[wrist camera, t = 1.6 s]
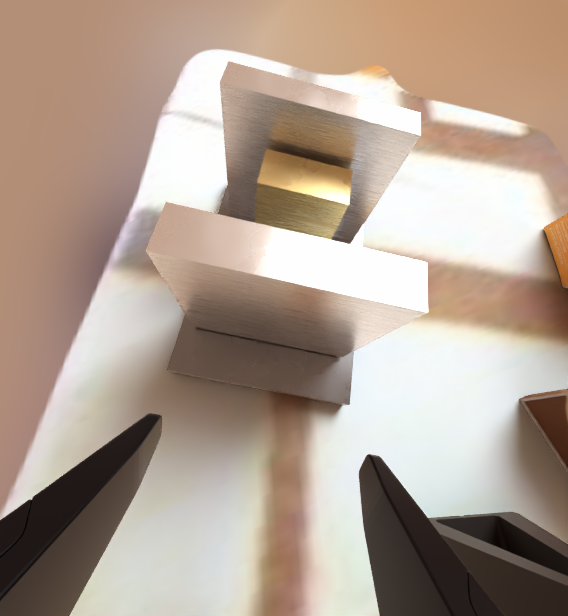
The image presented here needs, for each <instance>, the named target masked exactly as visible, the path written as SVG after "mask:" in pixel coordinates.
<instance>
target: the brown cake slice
mask: <svg viewBox="0 0 568 616" xmlns="http://www.w3.org/2000/svg"><path fill="white" fill-rule="evenodd" d="M519 400H520V401H521V403H522V404H523V406H524V407H525V409H526V411H527V412H528V414H529V415H530V417H531V418H532V420H533V421H534V423H535V424H536V426H537V427H538V429H539V431H540V432H541V434H542V435H543V437H544V438H545V440H546V441H547V443H548V444H549V446H550V447H551V449H552V451H553V452H554V454H555V455H556V457H557V458H558V460H559V461H560V463H561V464H562V466H563V468H564V469H565V471H566V472H567V474H568V389H564V390H558V391H551V392H545V393H539V394H532V395H528V396H525V397H523V398H521V399H519Z"/></svg>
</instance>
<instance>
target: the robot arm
mask: <svg viewBox="0 0 568 616" xmlns="http://www.w3.org/2000/svg"><path fill="white" fill-rule="evenodd" d="M161 427H162V416H161V415H157V414H152V413H150V414H147V415H146V416H145V417H143V418H142V419H140V420H139V421H138V422H136V423H135V424H133V425H132V426H131V427H129V428H128V429H127V430H125V431H124V432H122V433H121V434H120V435H118V436H117V437H115V438H114V439H113V440H111V441H110V442H109V443H107V444H106V445H104V446H103V447H102V448H100V449H99V450H97V451H96V452H95V453H93V454H92V455H91V456H89V457H88V458H86V459H85V460H84V461H82V462H81V463H79V464H78V465H77V466H75V467H74V468H73V469H71V470H70V471H68V472H67V473H66V474H64V475H63V476H61V477H60V478H59V479H57V480H56V481H55V482H53V483H52V484H50V485H49V486H48V487H46V488H45V489H43V490H42V491H41V492H39V493H38V494H37V495H35V496H34V497H33V498H32V500H31V499H30V500H28V501H27V502H25V503H24V504H23V505H21V506H20V507H18V508H17V509H16V510H14V511H13V512H11V513H10V514H9V515H7V516H6V517H4V518H3V519H1V520H0V616H69V615H70V614H71V612H72V610H73V608H74V606H75V604H76V603H77V601H78V599H79V597H80V595H81V593H82V591H83V590H84V588H85V586H86V584H87V582H88V580H89V579H90V577H91V575H92V573H93V571H94V569H95V568H96V566H97V564H98V562H99V560H100V558H101V557H102V555H103V553H104V551H105V549H106V547H107V546H108V544H109V542H110V540H111V538H112V536H113V535H114V533H115V531H116V529H117V527H118V525H119V524H120V522H121V520H122V518H123V516H124V514H125V513H126V511H127V509H128V507H129V505H130V503H131V501H132V500H133V498H134V496H135V494H136V492H137V490H138V488H139V486H140V484H141V482H142V479H143V477H144V475H145V472H146V470H147V467H148V465H149V463H150V460H151V458H152V456H153V453H154V451H155V449H156V446H157V444H158V442H159V439H160V436H161ZM359 482H360V493H361V504H362V516H363V525H364V531H365V537H366V543H367V548H368V554H369V559H370V565H371V570H372V576H373V581H374V587H375V592H376V598H377V603H378V608H379V614H380V616H505V615H504V614H503V613H502V612H501V610H500V609H499V608H498V607H497V606H496V604H495V603H494V602H493V601H492V599H491V598H490V597H489V596H488V594H487V593H486V592H485V591H484V589H483V588H482V587H481V586H480V584H479V583H478V582H477V580H476V579H475V578H474V577H473V575H472V574H471V573H470V572H469V571H467V568H466V566H465V565H464V564H463V563H462V561H461V560H460V559H459V557H458V556H457V555H456V554H455V552H454V551H453V550H452V548H451V547H450V546H449V545H448V543H447V542H446V541H445V539H444V538H443V537H442V536H441V534H440V533H439V532H438V530H437V529H436V528H435V527H434V525H433V524H432V523H431V521H430V520H429V519H428V518H427V516H426V515H425V514H424V512H423V511H422V510H421V509H420V507H419V506H418V505H417V503H416V502H415V501H414V500H413V498H412V497H411V496H410V494H409V493H408V492H407V491H406V489H405V488H404V487H403V485H402V484H401V483H400V482H399V480H398V479H397V478H396V476H395V475H394V474H393V473H392V471H391V470H390V469H389V467H388V466H387V465H386V464H385V462H384V461H383V460H382V459H381V458H380V457H379V456H376V455H371V454H368V455H367V456H366V458H365V460H364V462H363V464H362V466H361V468H360V471H359Z"/></svg>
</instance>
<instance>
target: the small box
mask: <svg viewBox="0 0 568 616" xmlns="http://www.w3.org/2000/svg"><path fill="white" fill-rule="evenodd" d="M544 231H545V233H546V236H547V238H548V241H549V244H550V247H551V250H552V253H553V256H554V259H555V262H556V265H557V268H558V271H559V275H560V278H561V283H562V286H563V288H568V213H567V214H566V215H564V216H562V217H561V218H559V219H557V220H556V221H554V222H552V223H551V224H549V225H547V226H546V227H544Z"/></svg>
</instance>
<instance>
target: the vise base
mask: <svg viewBox="0 0 568 616" xmlns="http://www.w3.org/2000/svg"><path fill="white" fill-rule="evenodd" d="M220 89H221V102H222V115H223V128H224V141H225V154H226V167H227V180H228V186H227V189H226V192H225V195H224V198H223V201H222V204H221V207H220V210H219V213H218V214H219V215H224V216H228V217H232V218H237V219H241V220H245V221H250V222H254V223H255V211H256V193H257V181H258V177H259V174H260V170H261V166H262V163H263V159H264V155H265V152H266V149H269V150H273V151H277V152H281V153H285V154H289V155H293V156H297V157H301V158H305V159H309V160H313V161H317V162H321V163H325V164H329V165H333V166H337V167H341V168H345V169H349V170H353V172H352V181H351V191H350V200H349V206H348V207H347V209H346V211H345V213H344V215H343V217H342V219H341V221H340V223H339V225H338V227H337V229H336V231H335V233H334V235H333V237H332V239H331V240H332V241H336V242H340V243H345V244H349V245H353V246H358V247H362V241H363V229H364V222H365V221H366V219H367V218H368V216H369V215H370V213H371V212H372V210H373V208H374V207H375V205H376V204H377V202H378V201H379V199H380V198H381V196H382V194H383V193H384V191H385V190H386V188H387V187H388V185H389V184H390V182H391V181H392V179H393V177H394V176H395V174H396V173H397V171H398V170H399V168H400V167H401V165H402V163H403V162H404V160H405V159H406V157H407V156H408V154H409V153H410V151H411V149H412V148H413V146H414V145H415V143H416V142H417V140H418V139H419V137H420V135H421V118H420V113H419V112H415V111H412V110H408V109H404V108H400V107H397V106H393V105H389V104H385V103H382V102H378V101H374V100H371V99H367V98H363V97H359V96H356V95H352V94H348V93H344V92H341V91H337V90H333V89H330V88H326V87H322V86H318V85H315V84H311V83H307V82H303V81H300V80H296V79H292V78H289V77H285V76H281V75H277V74H274V73H270V72H266V71H262V70H259V69H255V68H251V67H248V66H244V65H240V64H236V63H233V62H228V64H227V67H226V69H225V71H224V74H223V76H222V79H221V81H220ZM353 354H354V351H353V352H351V353H349V354H347V355H346V356H344V357H339V356H334V355H329V354H324V353H319V352H315V351H310V350H305V349H300V348H295V347H290V346H285V345H280V344H275V343H270V342H265V341H261V340H256V339H251V338H246V337H241V336H236V335H231V334H226V333H221V332H216V331H211V330H206V329H202V328H197V327H193V325H192V323H191V322H190V320H189V319H188V317H187V315H186V314H185V317H184V320H183V323H182V326H181V329H180V332H179V335H178V338H177V342H176V345H175V348H174V351H173V354H172V357H171V360H170V363H169V366H168V369H167V370H168V371H170V372H173V373H178V374H183V375H188V376H194V377H199V378H204V379H209V380H215V381H220V382H225V383H230V384H235V385H241V386H246V387H251V388H256V389H261V390H267V391H272V392H277V393H282V394H288V395H293V396H298V397H303V398H308V399H314V400H319V401H324V402H329V403H334V404H340V405H349V404H350V391H351V379H352V366H353Z"/></svg>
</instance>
